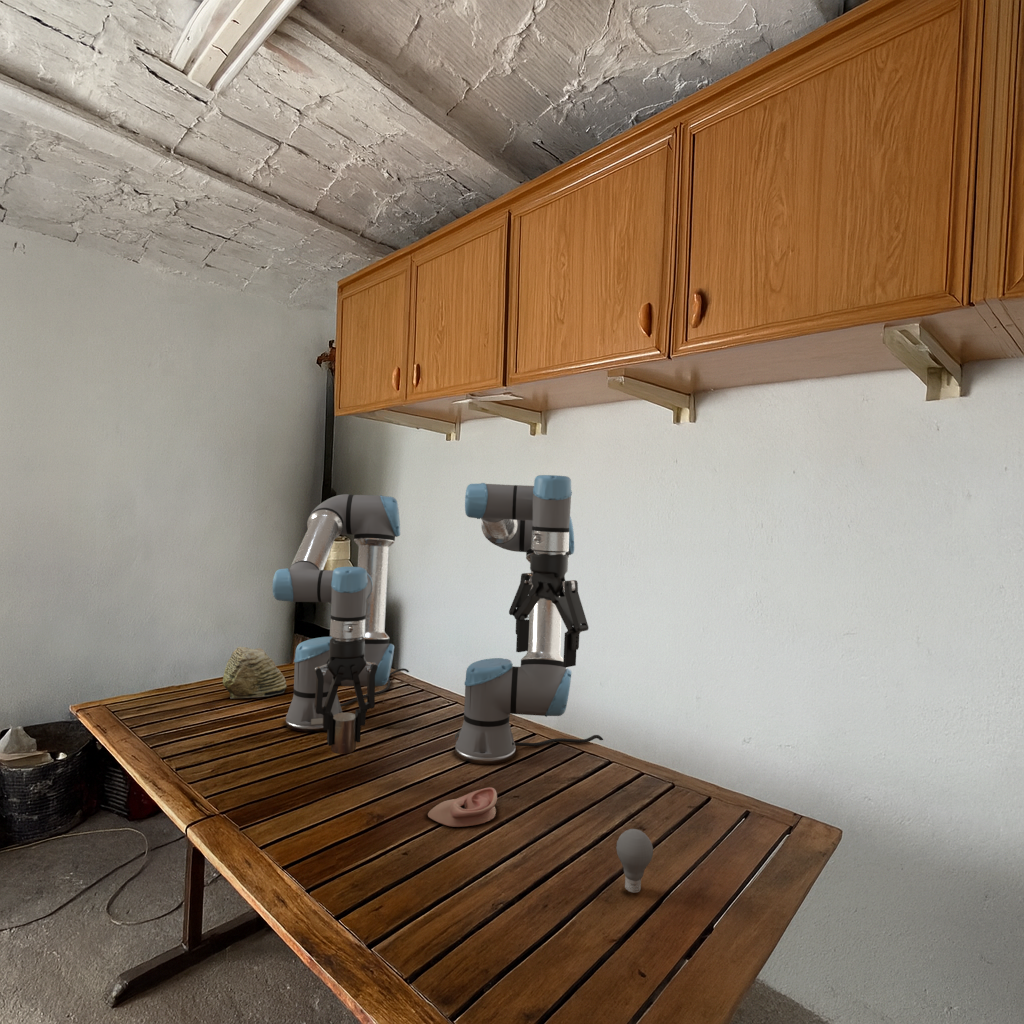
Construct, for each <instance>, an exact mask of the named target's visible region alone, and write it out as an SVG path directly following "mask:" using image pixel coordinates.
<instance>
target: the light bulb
mask: <svg viewBox="0 0 1024 1024" xmlns="http://www.w3.org/2000/svg"><path fill="white" fill-rule="evenodd" d="M615 849H616V854H617V857H618V859H619V861H620V863H621V865H622V867H623V873H624V874H623V875H624V876H625V878H624V888H625V890H627V891H628V892H630V893H634V894H635V893H639V892H640V891H641V889H642V887H641V886H642V879H643V877H644V875H645V871H646V868H647V867H648V866H649V864H650V863H651V861H652V859H653V855H654V847H653V843H652V841H651V838H649V836H648V835H647V834H646V833H645V832H643V831H642V830H641V829H636V828H629V829H627V830H625V831H623V832H622V833H621V834H620V835H619V837H618V839H617V841H616V847H615Z"/></svg>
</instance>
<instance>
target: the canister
mask: <svg viewBox="0 0 1024 1024" xmlns="http://www.w3.org/2000/svg"><path fill="white" fill-rule="evenodd" d="M356 728H357V715H356V714H355V713H353V712H343V713H338V714H335V715H334V716H333V742H332V746H330V750H331V752H332V753H334V754H337V755H338V754H339V755H346V754H350V753H352V752H354V751H355V750H357V742H356Z"/></svg>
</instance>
